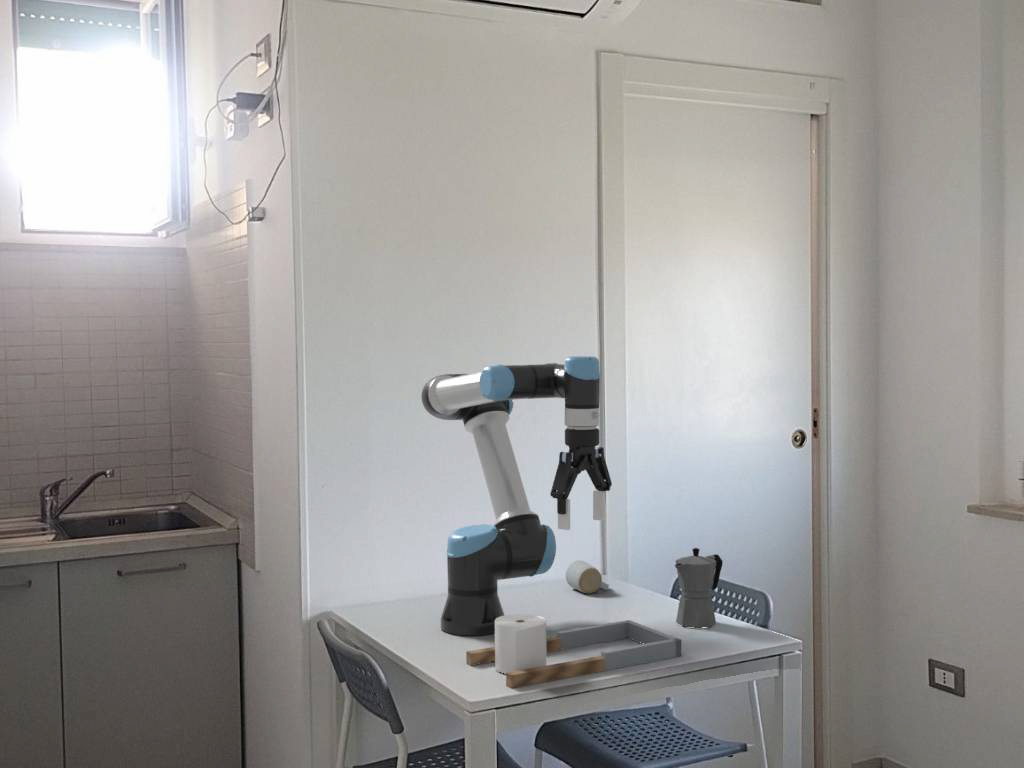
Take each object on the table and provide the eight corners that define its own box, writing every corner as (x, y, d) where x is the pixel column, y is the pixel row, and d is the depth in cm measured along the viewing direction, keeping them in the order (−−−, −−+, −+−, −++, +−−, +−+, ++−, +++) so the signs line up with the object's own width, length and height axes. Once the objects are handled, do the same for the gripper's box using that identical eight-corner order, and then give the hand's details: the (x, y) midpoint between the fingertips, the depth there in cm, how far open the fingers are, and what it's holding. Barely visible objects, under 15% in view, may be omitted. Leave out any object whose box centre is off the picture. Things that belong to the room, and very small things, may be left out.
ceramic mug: (579, 596, 290) (579, 566, 289) (565, 589, 297) (565, 561, 297) (614, 592, 294) (615, 563, 294) (599, 586, 302) (599, 558, 301)
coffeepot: (691, 632, 253) (690, 554, 252) (661, 624, 261) (661, 548, 260) (736, 621, 263) (736, 546, 262) (706, 614, 270) (706, 540, 269)
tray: (605, 670, 225) (605, 653, 225) (556, 647, 242) (555, 632, 242) (681, 656, 235) (681, 639, 235) (629, 635, 252) (629, 620, 251)
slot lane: (511, 688, 215) (511, 675, 214) (466, 663, 231) (466, 651, 231) (605, 670, 225) (605, 658, 225) (556, 647, 242) (556, 636, 242)
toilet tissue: (530, 658, 235) (530, 611, 234) (559, 673, 224) (559, 624, 224) (485, 665, 230) (485, 617, 229) (513, 681, 219) (513, 631, 219)
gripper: (563, 433, 228) (563, 535, 229) (627, 424, 248) (627, 518, 249) (533, 431, 233) (534, 531, 234) (599, 422, 252) (599, 514, 254)
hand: (581, 524), depth 242 cm, fingers open, 13 cm apart
